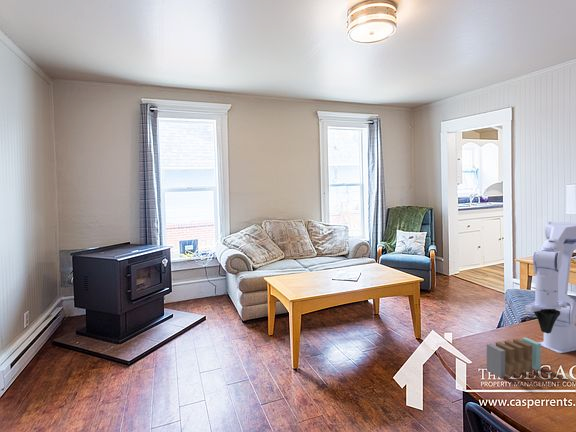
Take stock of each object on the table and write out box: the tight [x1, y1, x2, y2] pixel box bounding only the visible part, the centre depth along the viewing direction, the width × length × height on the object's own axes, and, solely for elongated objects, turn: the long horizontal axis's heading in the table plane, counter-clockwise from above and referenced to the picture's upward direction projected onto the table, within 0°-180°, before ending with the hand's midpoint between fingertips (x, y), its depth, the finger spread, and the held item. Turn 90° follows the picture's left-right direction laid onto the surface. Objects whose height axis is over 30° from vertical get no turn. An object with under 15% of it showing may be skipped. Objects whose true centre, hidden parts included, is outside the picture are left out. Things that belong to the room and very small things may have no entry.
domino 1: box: [495, 341, 515, 377], centre depth 104 cm, size 2×5×8 cm, turn 15°
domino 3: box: [512, 338, 533, 373], centre depth 105 cm, size 2×5×8 cm, turn 15°
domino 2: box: [504, 340, 524, 375], centre depth 105 cm, size 2×5×8 cm, turn 15°
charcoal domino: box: [486, 343, 506, 379], centre depth 103 cm, size 2×5×8 cm, turn 16°
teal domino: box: [521, 336, 542, 371], centre depth 106 cm, size 2×5×8 cm, turn 16°
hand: (546, 332), depth 108 cm, fingers closed
